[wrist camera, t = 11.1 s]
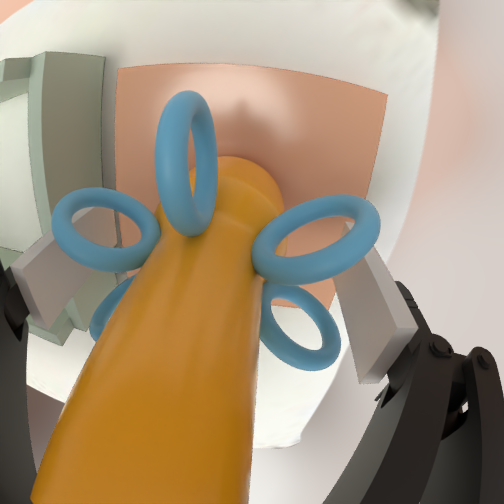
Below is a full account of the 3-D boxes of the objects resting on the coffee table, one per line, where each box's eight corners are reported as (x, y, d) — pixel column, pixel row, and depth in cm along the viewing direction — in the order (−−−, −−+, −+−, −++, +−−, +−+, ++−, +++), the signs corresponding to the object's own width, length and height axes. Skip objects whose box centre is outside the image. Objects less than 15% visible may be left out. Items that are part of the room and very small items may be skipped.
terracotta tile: (133, 275, 21) (128, 283, 20) (125, 69, 13) (118, 68, 12) (326, 302, 21) (328, 311, 20) (381, 94, 13) (387, 94, 12)
